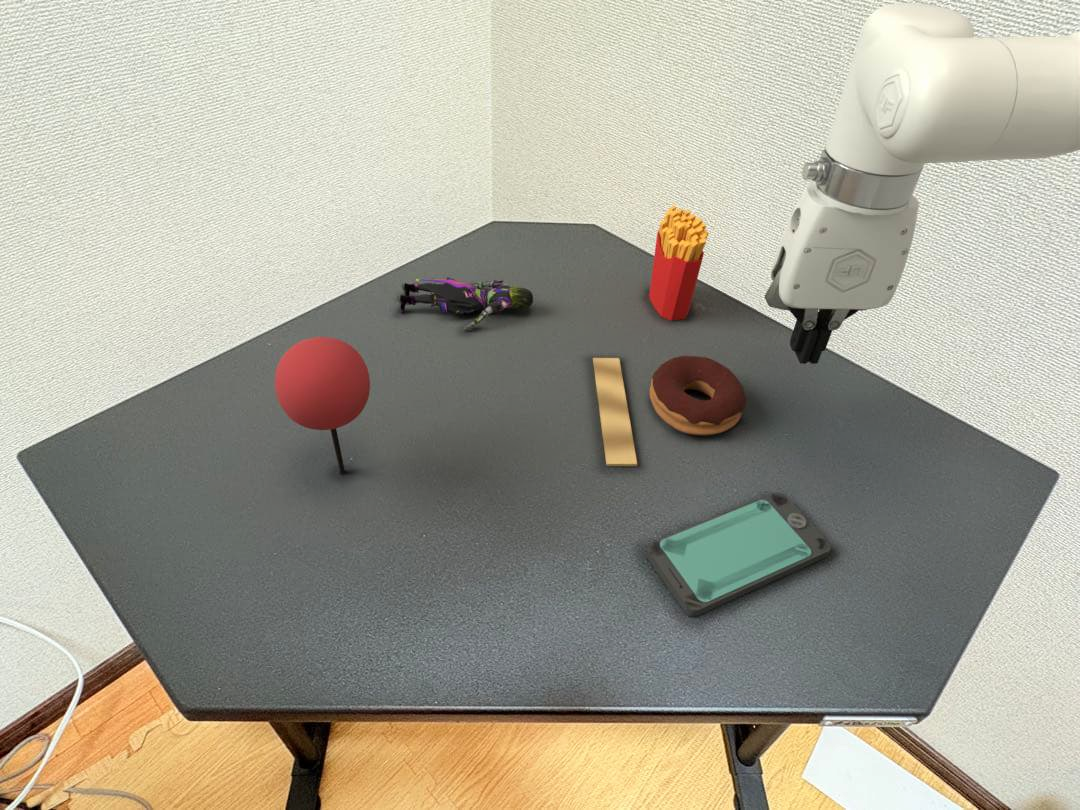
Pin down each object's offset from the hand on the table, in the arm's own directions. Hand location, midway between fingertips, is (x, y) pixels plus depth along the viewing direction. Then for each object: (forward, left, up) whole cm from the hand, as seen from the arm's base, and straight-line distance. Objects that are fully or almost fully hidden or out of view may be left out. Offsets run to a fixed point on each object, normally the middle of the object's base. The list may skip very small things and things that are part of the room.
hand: (804, 354), depth 71 cm
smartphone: (+4, +19, -8) cm, 21 cm away
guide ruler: (+18, +4, -8) cm, 20 cm away
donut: (+9, +1, -8) cm, 12 cm away
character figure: (+37, -9, -8) cm, 39 cm away
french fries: (+13, -16, -8) cm, 23 cm away
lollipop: (+41, +19, -8) cm, 46 cm away
